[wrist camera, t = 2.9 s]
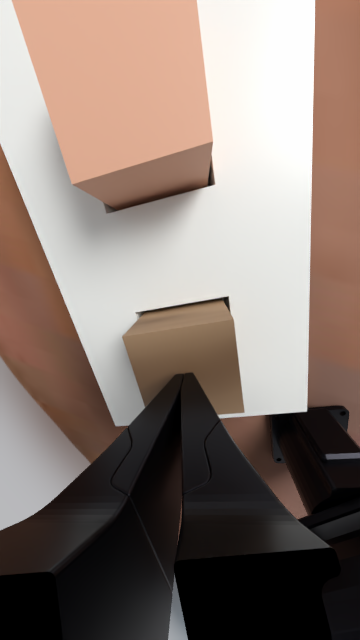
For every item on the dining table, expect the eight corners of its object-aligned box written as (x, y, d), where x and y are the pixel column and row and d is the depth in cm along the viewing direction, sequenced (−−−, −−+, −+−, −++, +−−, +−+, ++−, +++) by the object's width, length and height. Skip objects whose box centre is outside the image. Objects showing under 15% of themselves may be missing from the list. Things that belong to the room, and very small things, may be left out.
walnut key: (230, 366, 13) (244, 412, 9) (162, 375, 14) (149, 420, 10) (221, 298, 11) (233, 319, 8) (145, 311, 12) (121, 336, 8)
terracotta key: (207, 186, 10) (213, 141, 6) (118, 210, 10) (71, 184, 6) (189, 54, 8) (182, -126, 4) (86, 93, 9) (1, -30, 5)
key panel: (281, 375, 16) (307, 411, 12) (132, 391, 18) (115, 426, 14) (268, -15, 9) (319, -207, 5) (27, 84, 11) (-60, -3, 7)
